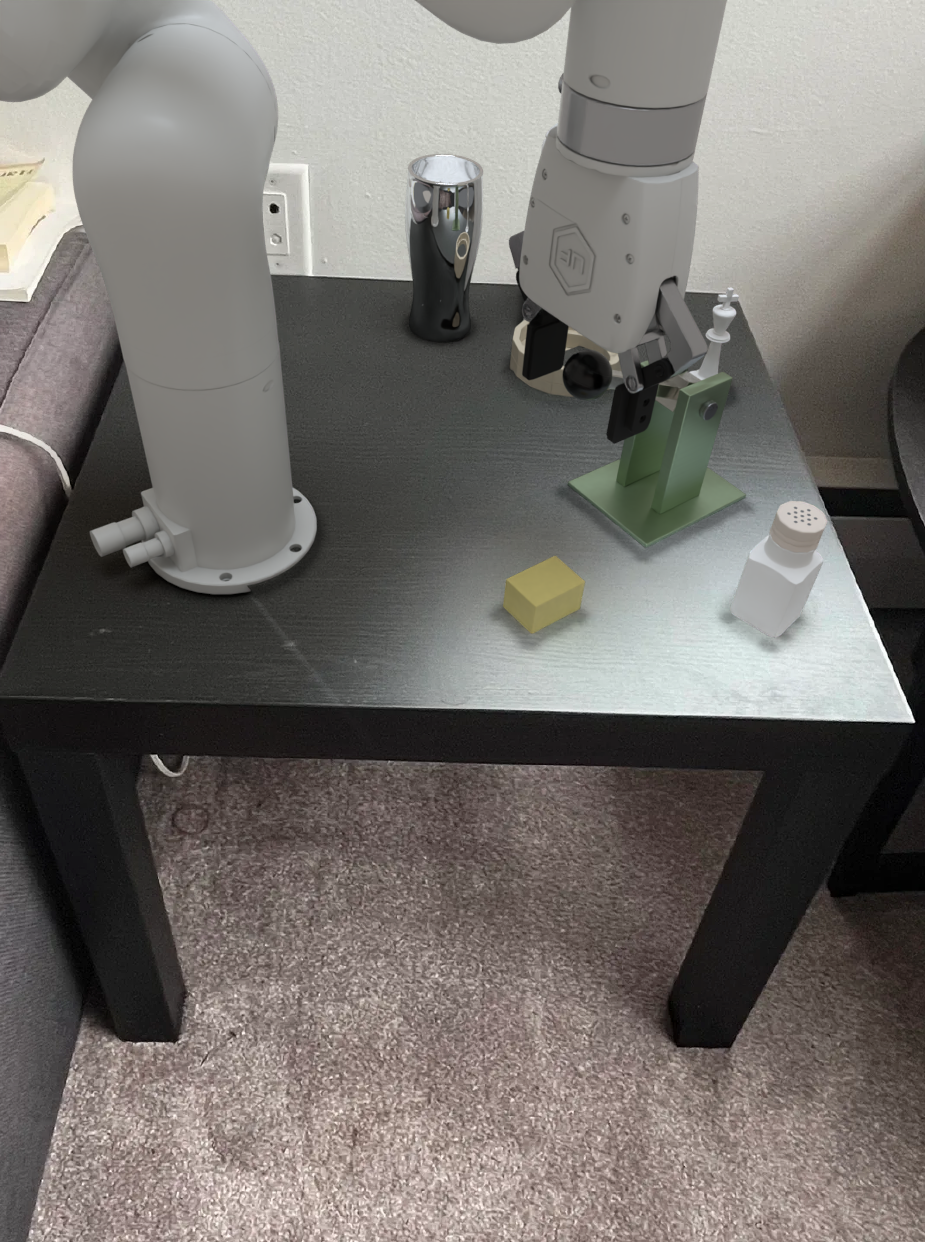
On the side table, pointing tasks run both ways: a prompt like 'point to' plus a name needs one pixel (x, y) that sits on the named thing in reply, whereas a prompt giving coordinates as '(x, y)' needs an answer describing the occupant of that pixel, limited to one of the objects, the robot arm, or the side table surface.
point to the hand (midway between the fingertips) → (583, 401)
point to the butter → (543, 594)
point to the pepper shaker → (781, 570)
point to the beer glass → (442, 242)
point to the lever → (613, 379)
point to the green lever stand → (666, 468)
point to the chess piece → (717, 334)
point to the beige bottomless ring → (555, 379)
